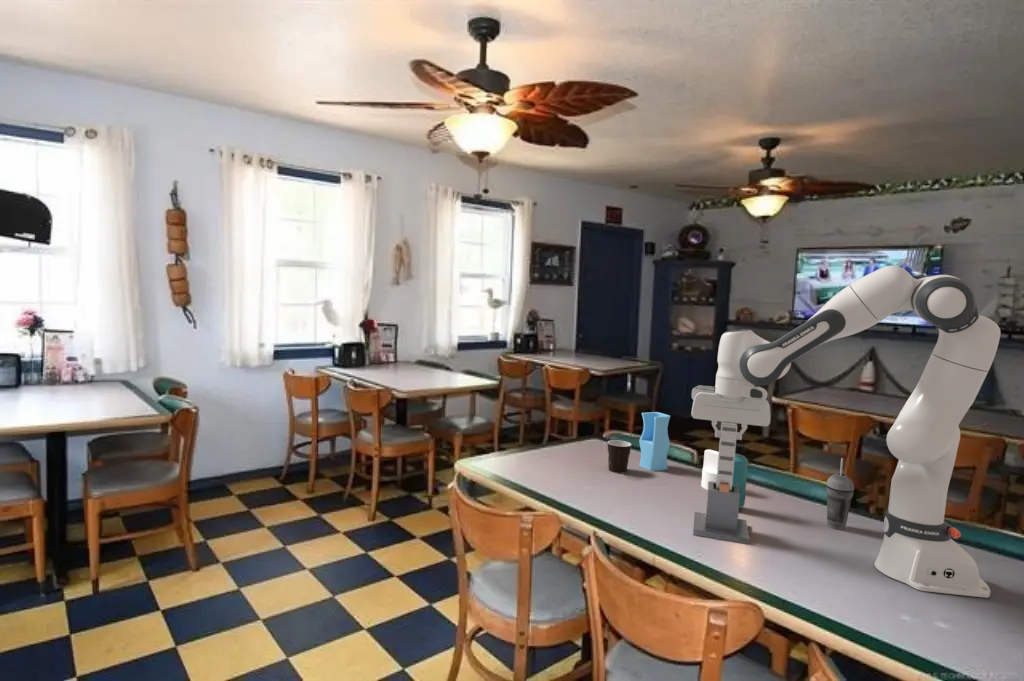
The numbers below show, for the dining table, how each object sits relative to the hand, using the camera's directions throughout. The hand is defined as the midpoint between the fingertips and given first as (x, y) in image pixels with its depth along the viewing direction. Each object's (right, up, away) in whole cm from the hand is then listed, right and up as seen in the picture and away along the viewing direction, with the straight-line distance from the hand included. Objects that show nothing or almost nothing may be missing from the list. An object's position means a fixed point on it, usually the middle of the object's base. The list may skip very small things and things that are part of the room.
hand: (728, 438), depth 162 cm
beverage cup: (+35, -27, +9) cm, 45 cm away
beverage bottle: (+9, -25, +20) cm, 33 cm away
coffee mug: (-22, -21, +52) cm, 60 cm away
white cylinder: (+10, -24, +39) cm, 47 cm away
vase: (-6, -21, +60) cm, 63 cm away
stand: (-1, -26, +2) cm, 26 cm away
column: (-1, -18, +1) cm, 18 cm away
